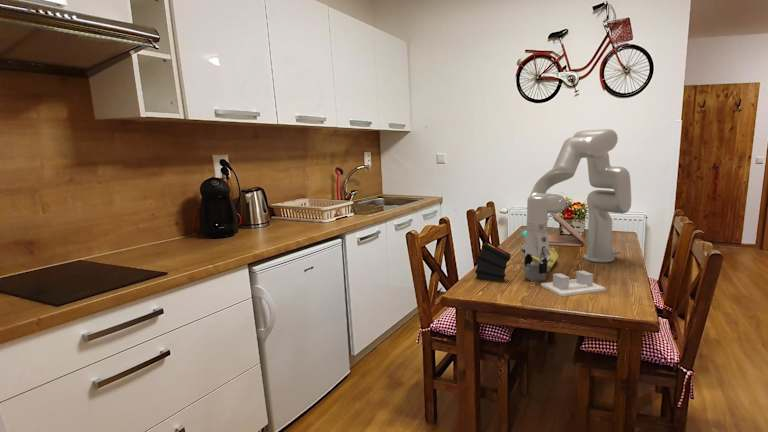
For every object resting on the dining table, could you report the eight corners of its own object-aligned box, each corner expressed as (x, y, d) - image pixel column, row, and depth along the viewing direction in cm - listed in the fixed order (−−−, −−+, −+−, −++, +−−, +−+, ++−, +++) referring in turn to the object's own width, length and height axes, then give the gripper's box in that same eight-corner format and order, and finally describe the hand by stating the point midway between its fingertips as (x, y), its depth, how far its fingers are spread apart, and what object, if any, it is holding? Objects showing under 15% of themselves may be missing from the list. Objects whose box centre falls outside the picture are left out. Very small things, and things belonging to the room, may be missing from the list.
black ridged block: (470, 271, 171) (486, 240, 166) (499, 288, 167) (516, 257, 162) (467, 274, 168) (483, 242, 163) (497, 291, 164) (514, 259, 159)
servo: (544, 276, 168) (545, 259, 166) (551, 279, 164) (551, 261, 163) (520, 279, 165) (520, 262, 164) (526, 282, 161) (526, 264, 160)
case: (584, 247, 211) (585, 216, 209) (540, 245, 219) (541, 215, 216) (580, 239, 230) (582, 210, 228) (540, 237, 238) (541, 209, 235)
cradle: (582, 280, 160) (582, 267, 159) (605, 290, 149) (606, 276, 148) (541, 285, 156) (541, 272, 155) (561, 296, 145) (562, 281, 144)
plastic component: (551, 267, 171) (528, 255, 175) (543, 281, 174) (521, 269, 178) (560, 253, 187) (539, 242, 191) (552, 266, 190) (532, 255, 194)
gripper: (559, 230, 154) (557, 275, 156) (532, 223, 170) (531, 263, 173) (541, 231, 152) (539, 276, 154) (516, 224, 168) (515, 265, 171)
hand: (535, 269), depth 164 cm, fingers open, 9 cm apart
